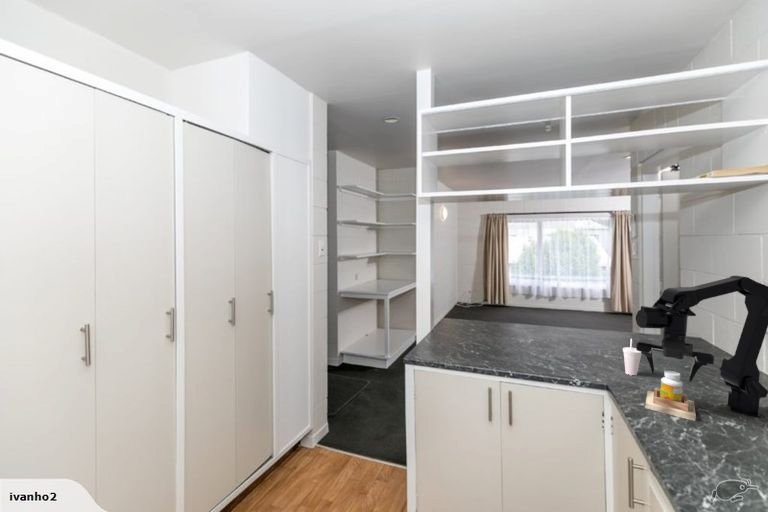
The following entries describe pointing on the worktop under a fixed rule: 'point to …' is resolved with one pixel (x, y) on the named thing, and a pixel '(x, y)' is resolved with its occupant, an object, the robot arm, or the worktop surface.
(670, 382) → the supplement bottle
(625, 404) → the worktop surface
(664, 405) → the birch stand
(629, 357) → the smoothie
